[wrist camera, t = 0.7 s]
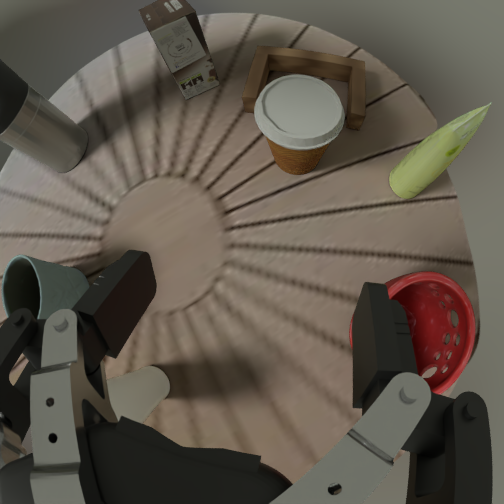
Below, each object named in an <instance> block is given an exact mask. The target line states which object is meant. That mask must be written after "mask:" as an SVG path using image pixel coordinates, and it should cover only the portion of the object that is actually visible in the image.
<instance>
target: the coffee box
mask: <svg viewBox="0 0 504 504" xmlns="http://www.w3.org/2000/svg"><path fill="white" fill-rule="evenodd" d="M139 13H140V15H141V17H142V19H143V21H144V23H145V25H146V27H147V29H148V31H149V33H150V35H151V37H152V38H153V40H154V42H155V44H156V46H157V48H158V50H159V51H160V53H161V55H162V57H163V59H164V61H165V62H166V64H167V66H168V68H169V70H170V72H171V73H172V75H173V77H174V79H175V81H176V82H177V84H178V86H179V88H180V90H181V92H182V94H183V96H184V97H185V99H186V100H187V99H189V98H191V97H193V96H196V95H198V94H200V93H202V92H204V91H207V90H209V89H211V88H213V87H216V86H218V85H219V80H218V77H217V74H216V71H215V68H214V65H213V62H212V59H211V56H210V53H209V50H208V47H207V44H206V41H205V38H204V35H203V32H202V29H201V26H200V23H199V20H198V17H197V15H196V11H195V10H194V9H193V8H192V7H191V6H190V4H188V2H187V1H186V0H158V1H156V2H153V3H152V4H150V5H148V6H146V7H144V8H142V9H140V10H139Z"/></svg>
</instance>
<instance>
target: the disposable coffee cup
mask: <svg viewBox="0 0 504 504" xmlns="http://www.w3.org/2000/svg"><path fill="white" fill-rule="evenodd" d="M254 116H255V120H256V123H257V125H258V127H259V129H260V130H261V131H262V133H263V134H264V135H265V136H266V138H267V141H268V143H269V146H270V149H271V151H272V153H273V156H274V159H275V161H276V163H277V165H278V166H279V167H280V168H281V169H282V170H283V171H285V172H287V173H290V174H294V175H301V174H305V173H308V172H310V171H311V170H313V169H314V168H315V167H316V165H317V164H318V162H319V160H320V158H321V157H322V155H323V153H324V152H325V150H326V148H327V147H328V145H329V143H330V142H331V141H332V140H333V139H335V138H336V137H337V136H338V134H339V133H340V131H341V130H342V127H343V124H344V119H345V115H344V109H343V106H342V104H341V101H340V99H339V97H338V95H337V94H336V92H335V91H334V90H333V88H331V87H330V86H329V85H328V84H326V83H325V82H323V81H322V80H319V79H317V78H314V77H311V76H307V75H288V76H283V77H280V78H278V79H275V80H273V81H272V82H271V83H269V84H268V85H266V86H265V88H264V89H263V91H262V92H261V93H260V95H259V97H258V99H257V101H256V104H255V108H254Z"/></svg>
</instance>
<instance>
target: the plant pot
mask: <svg viewBox="0 0 504 504" xmlns="http://www.w3.org/2000/svg"><path fill="white" fill-rule="evenodd" d="M385 284H386V286H387V289H388V294H389V298H390V300H398V302H399V303H400V304H401V306H402V307H403V309H404V310H405V312H406V316H407V320H408V326H409V329H410V336H411V339H412V344H413V349H414V354H415V360H416V365H417V371H418V375H419V376H422V375H423V373H424V372H425V371H427V370H428V369H430V368H432V367H437V371H436V372H435V374H433V375H432V376H431V377H429V378H423V379H424V380H425V381H426V382H427V384H428V385H429V387H430V391H432V392H434V393H436V394H439V395H440V394H442V393H443V392H444V391H446V390H447V389H448V388H449V387H450V386H451V385H452V384H453V383H454V382H455V381H456V380H457V378H458V377H459V376H460V374H461V373H462V371H463V370H464V368H465V366H466V364H467V362H468V360H469V358H470V355H471V353H472V349H473V345H474V340H475V317H474V312H473V308H472V305H471V303H470V300H469V298H468V296H467V295H466V293H465V292H464V290H463V289H462V288H461V287H460V286H459V285H458V284H457V283H456V282H455V281H454V280H452V279H451V278H449V277H447V276H445V275H443V274H441V273H437V272H432V271H422V272H415V273H410V274H406V275H403V276H400V277H397V278H395V279H392V280H390V281H388V282H386V283H385ZM435 291H437V292H438V293H437V292H435ZM448 295H449V296H451V298H452V299H451V298H450V297H449V296H448ZM441 301H442V302H444V304H445V306H444V305H443V304H442V302H441ZM451 310H454V311H455V312H456V313H457V315H458V318H459V322H458V325H457V326H456V327H454V326H453V324H452V322H451ZM353 315H354V314H353ZM352 320H353V317H352ZM352 320H351V324H350V331H349V337H350V344H351V348H352ZM448 333H449V334H450V341H449V343H448V344H446V343H445V338H446V335H447V334H448ZM458 334H459V335H460V342H459V344H458V345H456V338H457V335H458ZM352 350H353V349H352ZM450 352H452V355H451V357H450V358H449V359H448V355H449V353H450ZM439 353H441V355H440V358H439V359H438V360H436V357H437V355H438V354H439ZM446 367H448V369H447V371H446V372H444V373H442V372H443V370H444V369H445V368H446Z"/></svg>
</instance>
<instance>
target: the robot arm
mask: <svg viewBox="0 0 504 504" xmlns="http://www.w3.org/2000/svg"><path fill="white" fill-rule="evenodd" d="M0 140H1V141H2V142H4V143H6V144H8V145H10V146H12V147H13V148H15V149H17V150H19V151H21V152H22V153H24V154H26V155H28V156H30V157H31V158H33V159H35V160H37V161H39V162H40V163H42V164H44V165H46V166H48V167H49V168H51V169H53V170H55V171H57V172H59V173H65V172H67V171H69V170H71V169H72V168H73V167H75V166H76V165H77V163H78V162H79V161H80V160H81V158H82V157H83V155H84V153H85V150H86V148H87V143H88V136H87V133H86V131H85V130H83V129H82V128H81V127H80V126H79V125H77V124H76V123H75V122H74V121H73V120H71V119H70V118H69V117H68V116H66V115H65V114H64V113H63V112H62V111H60V110H59V109H58V108H57V107H55V106H54V105H53V104H52V103H50V102H49V101H48V100H47V99H46V98H44V97H43V96H42V95H41V94H39V93H38V92H37V91H35V90H34V89H33V88H32V87H31V86H30V85H28V84H27V83H26V82H25V81H24V80H22V79H21V78H20V77H19V76H18V75H17V74H16V73H15V72H14V71H13V70H12V69H11V68H9V67H8V66H7V65H6V64H5V63H4V62H2V60H1V59H0ZM156 287H157V285H156V279H155V275H154V271H153V267H152V263H151V259H150V255H149V254H148V253H147V252H143V251H136V250H128V251H127V252H126V253H125V254H124V255H123V256H122V258H121V259H120V260H117V261H116V262H114V263H113V264H111V265H109V266H108V267H107V268H106V269H105V270H104V271H103V272H102V273H101V274H100V276H99V278H97V279H96V280H95V281H94V284H92V285H91V286H90V287H89V288H88V290H87V291H86V292H85V293H84V294H83V296H82V297H81V298H80V299H79V300H78V302H77V303H76V304H75V305H74V307H73V308H72V309H71V310H70V309H61V310H58V311H56V312H54V313H53V314H52V315H51V316H50V317H49V318H48V319H35V318H34V316H33V315H32V313H31V311H30V310H29V309H27V308H21V309H18V310H16V311H14V312H13V313H12V314H11V315H10V316H9V317H8V318H7V320H6V321H5V322H4V324H3V325H2V326H1V328H0V504H362V503H363V502H364V501H365V500H366V499H367V498H368V497H369V496H370V494H371V493H372V492H373V491H374V490H375V489H376V487H377V486H378V485H379V484H380V483H381V481H382V480H383V479H384V478H385V477H386V475H387V474H388V473H389V471H390V470H391V468H392V466H393V464H394V462H393V459H394V458H395V456H396V455H397V453H398V452H399V450H400V449H402V450H405V451H409V452H410V466H409V479H408V489H407V498H406V504H492V451H491V437H490V428H489V419H488V412H487V407H486V404H485V402H484V400H483V399H482V398H481V397H480V396H479V395H478V394H476V393H474V392H464V393H462V394H460V395H459V396H458V397H457V398H456V399H452V398H449V397H446V396H442V395H439V394H436V393H434V392H432V391H430V387H429V385H428V384H427V382H426V381H425V380H424V379H423V378H422V377H421V376H419V375H418V371H417V365H416V360H415V354H414V349H413V344H412V339H411V336H410V329H409V326H408V320H407V316H406V312H405V310H404V309H403V307H402V306H401V304H400V303H399V302H398V300H390V298H389V294H388V289H387V286H386V284H379V283H371V282H365V283H364V285H363V288H362V291H361V294H360V297H359V300H358V303H357V306H356V309H355V312H354V315H353V320H352V349H353V408H362V417H361V419H360V420H359V421H358V422H357V423H356V424H355V425H354V426H353V428H352V429H351V430H350V431H349V432H348V433H347V434H346V435H345V436H344V437H343V438H342V439H341V440H340V441H339V442H338V443H337V444H336V445H335V446H334V447H333V448H332V449H331V450H330V451H329V452H328V453H327V454H326V455H325V456H324V457H323V458H322V459H321V460H320V461H319V462H318V463H317V464H316V465H315V466H314V467H313V468H312V469H310V470H309V471H308V472H307V473H306V474H305V475H304V476H303V477H301V478H300V479H299V480H298V481H297V482H296V483H294V484H292V483H291V482H290V481H289V480H288V479H287V478H286V477H285V476H284V475H283V474H281V473H280V472H278V471H277V470H275V469H274V468H272V467H270V466H268V465H266V464H263V463H261V462H260V460H261V456H258V455H253V454H247V453H242V452H237V451H232V450H228V449H223V448H190V447H183V446H180V445H178V444H177V443H175V442H173V441H172V440H170V439H169V438H167V437H165V436H164V435H162V434H161V433H159V432H158V431H156V430H155V429H153V428H152V427H149V426H147V425H144V424H141V423H139V422H136V421H134V420H131V419H129V418H126V417H124V416H122V415H121V417H120V419H119V421H118V419H117V416H116V414H115V412H114V410H113V408H112V406H111V403H110V398H109V392H108V386H107V380H106V373H105V366H104V362H103V360H102V359H103V358H104V356H105V355H107V356H110V357H113V358H115V359H116V358H117V356H118V354H119V353H120V351H121V349H122V348H123V346H124V344H125V343H126V341H127V339H128V338H129V336H130V335H131V333H132V331H133V330H134V328H135V326H136V325H137V323H138V322H139V320H140V318H141V317H142V315H143V314H144V312H145V311H146V309H147V307H148V306H149V304H150V303H151V301H152V300H153V298H154V296H155V293H156ZM22 353H23V354H24V355H25V357H26V358H27V359H28V360H29V362H28V363H27V365H26V367H25V368H24V370H23V372H22V373H21V375H20V377H19V378H18V380H17V382H16V383H15V385H14V386H13V385H12V384H11V383H10V381H9V373H10V371H11V369H12V368H13V366H14V365H15V363H16V361H17V360H18V358H19V357H20V355H21V354H22ZM30 425H31V435H32V448H33V453H31V454H28V455H26V454H27V452H26V449H25V448H24V447H23V446H22V441H23V440H24V437H25V435H26V433H27V431H28V429H29V427H30Z"/></svg>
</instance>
